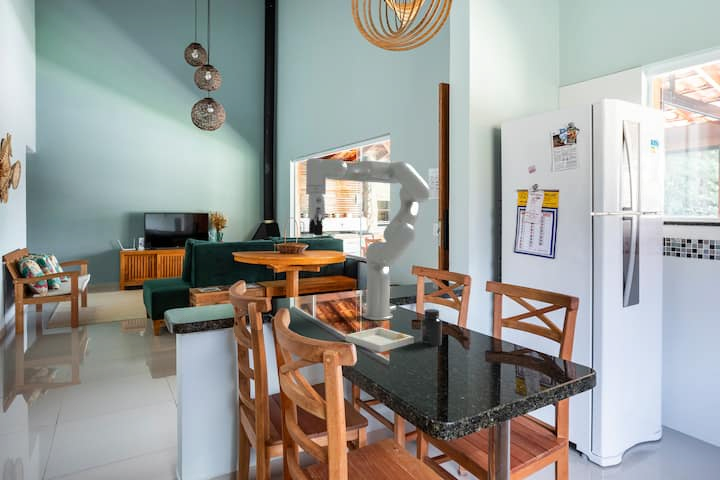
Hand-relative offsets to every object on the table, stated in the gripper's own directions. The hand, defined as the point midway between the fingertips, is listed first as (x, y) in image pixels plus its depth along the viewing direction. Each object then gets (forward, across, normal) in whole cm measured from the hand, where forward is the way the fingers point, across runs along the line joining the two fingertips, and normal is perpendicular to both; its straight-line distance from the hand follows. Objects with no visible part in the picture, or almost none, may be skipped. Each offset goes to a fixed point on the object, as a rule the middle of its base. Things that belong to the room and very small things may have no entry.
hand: (315, 234), depth 178 cm
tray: (+35, -36, -15) cm, 52 cm away
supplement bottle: (+35, -41, -31) cm, 62 cm away
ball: (+34, -38, -21) cm, 55 cm away
